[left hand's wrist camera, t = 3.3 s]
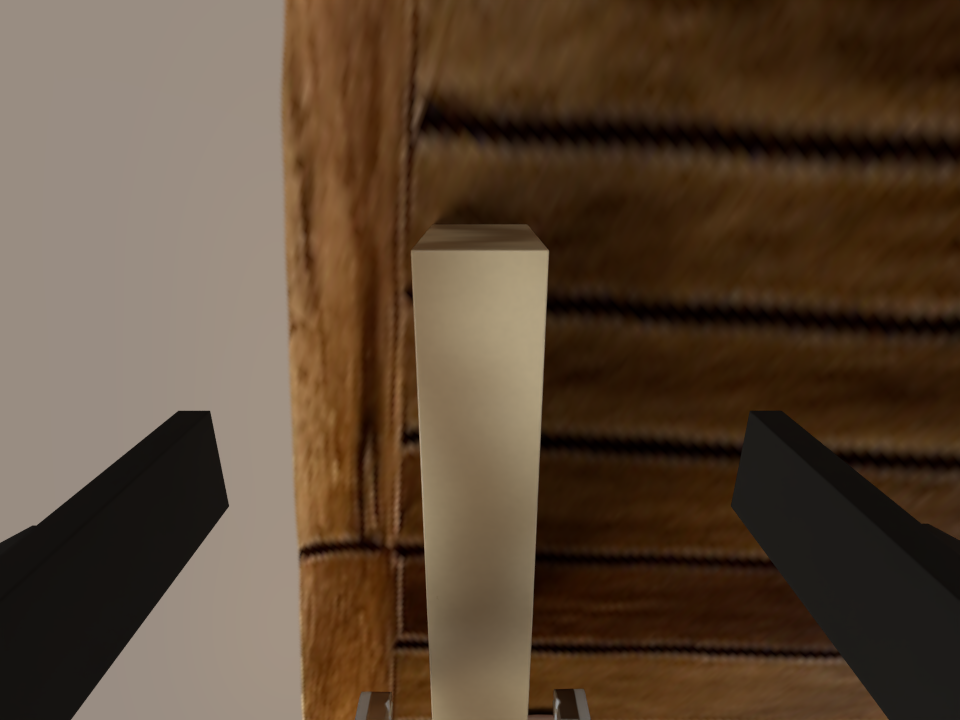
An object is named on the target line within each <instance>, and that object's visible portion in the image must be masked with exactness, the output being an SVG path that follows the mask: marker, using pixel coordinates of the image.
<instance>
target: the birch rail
mask: <svg viewBox="0 0 960 720" xmlns="http://www.w3.org/2000/svg"><path fill="white" fill-rule="evenodd" d="M411 264H412V286H413V308H414V330H415V352H416V374H417V396H418V418H419V440H420V462H421V483H422V505H423V527H424V549H425V571H426V593H427V615H428V637H429V659H430V681H431V703H432V720H528V703H529V681H530V659H531V637H532V615H533V593H534V571H535V550H536V528H537V506H538V484H539V462H540V440H541V418H542V396H543V374H544V352H545V330H546V308H547V286H548V265H549V250H548V249H547V248H546V246H545V245H544V244H543V243H542V242H541V240H540V239H539V238H538V237H537V236H536V234H535V233H534V232H533V231H532V230H531V228H530V227H529V226H528V225H527V224H433V225H432V226H431V227H430V228H429V230H428V231H427V232H426V233H425V234H424V236H423V237H422V238H421V239H420V240H419V242H418V243H417V244H416V245H415V246H414V248H413V249H412V250H411Z"/></svg>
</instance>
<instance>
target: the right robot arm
mask: <svg viewBox="0 0 960 720" xmlns="http://www.w3.org/2000/svg"><path fill="white" fill-rule="evenodd" d="M553 695H554V700H553V717H554V720H591V719H590V714H589V709H588V705H587V700H586V695H585V691H584V689H554V693H553ZM391 701H392V692H361V695H360V699H359V704H358V708H357V713H356V718H355V720H392V719H393V703H392V702H391Z"/></svg>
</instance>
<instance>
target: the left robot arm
mask: <svg viewBox="0 0 960 720" xmlns="http://www.w3.org/2000/svg"><path fill="white" fill-rule="evenodd" d="M228 507H229V504H228V499H227V494H226V489H225V484H224V479H223V474H222V469H221V463H220V458H219V453H218V448H217V444H216V438H215V433H214V428H213V423H212V419H211V413H210V411H178V412H176V413H175V414H174V415H173V416H172V417H170V418H169V419H168V420H167V421H165V422H164V423H163V424H162V425H160V426H159V427H158V428H157V429H155V430H154V431H153V432H152V433H151V434H149V435H148V436H147V437H146V438H144V439H143V440H142V441H141V442H139V443H138V444H137V445H136V446H135V447H133V448H132V449H131V450H130V451H128V452H127V453H126V454H125V455H123V456H122V457H121V458H120V459H118V460H117V461H116V462H115V463H113V464H112V465H111V466H110V467H108V468H107V469H106V470H105V471H104V472H102V473H101V474H100V475H99V476H97V477H96V478H95V479H94V480H92V481H91V482H90V483H89V484H87V485H86V486H85V487H84V488H82V489H81V490H80V491H79V492H78V493H76V494H75V495H74V496H73V497H71V498H70V499H69V500H68V501H66V502H65V503H64V504H63V505H61V506H60V507H59V508H58V509H57V510H55V511H54V512H53V513H52V514H50V515H49V516H48V517H47V518H45V519H44V520H43V521H42V522H40V523H39V524H38V525H37V526H31V527H29V528H27V529H25V530H23V531H22V532H20V533H18V534H16V535H14V536H12V537H10V538H8V539H7V540H5V541H3V542H1V543H0V720H71V719H72V718H73V716H74V715H75V714H76V712H77V711H78V709H79V708H80V707H81V705H82V704H83V703H84V701H85V700H86V699H87V697H88V696H89V695H90V693H91V692H92V691H93V689H94V688H95V686H96V685H97V684H98V682H99V681H100V680H101V678H102V677H103V676H104V674H105V673H106V672H107V670H108V669H109V668H110V666H111V665H112V664H113V662H114V661H115V659H116V658H117V657H118V655H119V654H120V653H121V651H122V650H123V649H124V647H125V646H126V645H127V643H128V642H129V641H130V639H131V638H132V637H133V635H134V634H135V632H136V631H137V630H138V628H139V627H140V626H141V624H142V623H143V622H144V620H145V619H146V618H147V616H148V615H149V614H150V612H151V611H152V609H153V608H154V607H155V605H156V604H157V603H158V601H159V600H160V599H161V597H162V596H163V595H164V593H165V592H166V591H167V589H168V588H169V587H170V585H171V584H172V582H173V581H174V580H175V578H176V577H177V576H178V574H179V573H180V572H181V570H182V569H183V568H184V566H185V565H186V564H187V562H188V561H189V560H190V558H191V557H192V555H193V554H194V553H195V551H196V550H197V549H198V547H199V546H200V545H201V543H202V542H203V541H204V539H205V538H206V537H207V535H208V534H209V532H210V531H211V530H212V528H213V527H214V526H215V524H216V523H217V522H218V520H219V519H220V518H221V516H222V515H223V514H224V512H225V511H226V509H227V508H228ZM731 507H732V508H733V510H734V511H735V512H736V514H737V515H738V516H739V518H740V519H741V520H742V522H743V523H744V524H745V526H746V527H747V528H748V530H749V531H750V533H751V534H752V535H753V537H754V538H755V539H756V541H757V542H758V543H759V545H760V546H761V547H762V549H763V550H764V551H765V553H766V554H767V555H768V557H769V558H770V560H771V561H772V562H773V564H774V565H775V566H776V568H777V569H778V570H779V572H780V573H781V574H782V576H783V577H784V578H785V580H786V581H787V582H788V584H789V585H790V587H791V588H792V589H793V591H794V592H795V593H796V595H797V596H798V597H799V599H800V600H801V601H802V603H803V604H804V605H805V607H806V608H807V610H808V611H809V612H810V614H811V615H812V616H813V618H814V619H815V620H816V622H817V623H818V624H819V626H820V627H821V628H822V630H823V631H824V632H825V634H826V635H827V637H828V638H829V639H830V641H831V642H832V643H833V645H834V646H835V647H836V649H837V650H838V651H839V653H840V654H841V655H842V657H843V658H844V659H845V661H846V662H847V664H848V665H849V666H850V668H851V669H852V670H853V672H854V673H855V674H856V676H857V677H858V678H859V680H860V681H861V682H862V684H863V685H864V686H865V688H866V689H867V691H868V692H869V693H870V695H871V696H872V697H873V699H874V700H875V701H876V703H877V704H878V705H879V707H880V708H881V709H882V711H883V712H884V714H885V715H886V716H887V718H888V719H889V720H960V540H958V539H956V538H954V537H952V536H950V535H948V534H946V533H944V532H943V531H941V530H939V529H937V528H935V527H933V526H931V525H929V524H921V523H920V522H918V521H917V520H916V519H915V518H913V517H912V516H911V515H910V514H908V513H907V512H906V511H905V510H904V509H902V508H901V507H900V506H899V505H897V504H896V503H895V502H894V501H892V500H891V499H890V498H889V497H887V496H886V495H885V494H884V493H882V492H881V491H880V490H879V489H878V488H876V487H875V486H874V485H873V484H871V483H870V482H869V481H868V480H866V479H865V478H864V477H863V476H861V475H860V474H859V473H858V472H856V471H855V470H854V469H853V468H852V467H850V466H849V465H848V464H847V463H845V462H844V461H843V460H842V459H840V458H839V457H838V456H837V455H835V454H834V453H833V452H832V451H831V450H829V449H828V448H827V447H826V446H824V445H823V444H822V443H821V442H819V441H818V440H817V439H816V438H814V437H813V436H812V435H811V434H809V433H808V432H807V431H806V430H805V429H803V428H802V427H801V426H800V425H798V424H797V423H796V422H795V421H793V420H792V419H791V418H790V417H788V416H787V415H786V414H785V413H784V412H782V411H750V413H749V418H748V423H747V428H746V433H745V438H744V443H743V448H742V453H741V458H740V463H739V468H738V473H737V479H736V484H735V489H734V494H733V499H732V504H731Z"/></svg>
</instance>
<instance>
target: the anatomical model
mask: <svg viewBox="0 0 960 720" xmlns="http://www.w3.org/2000/svg"><path fill="white" fill-rule="evenodd" d="M528 720H554V717H553V715H538V714H537V715H528Z"/></svg>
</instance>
